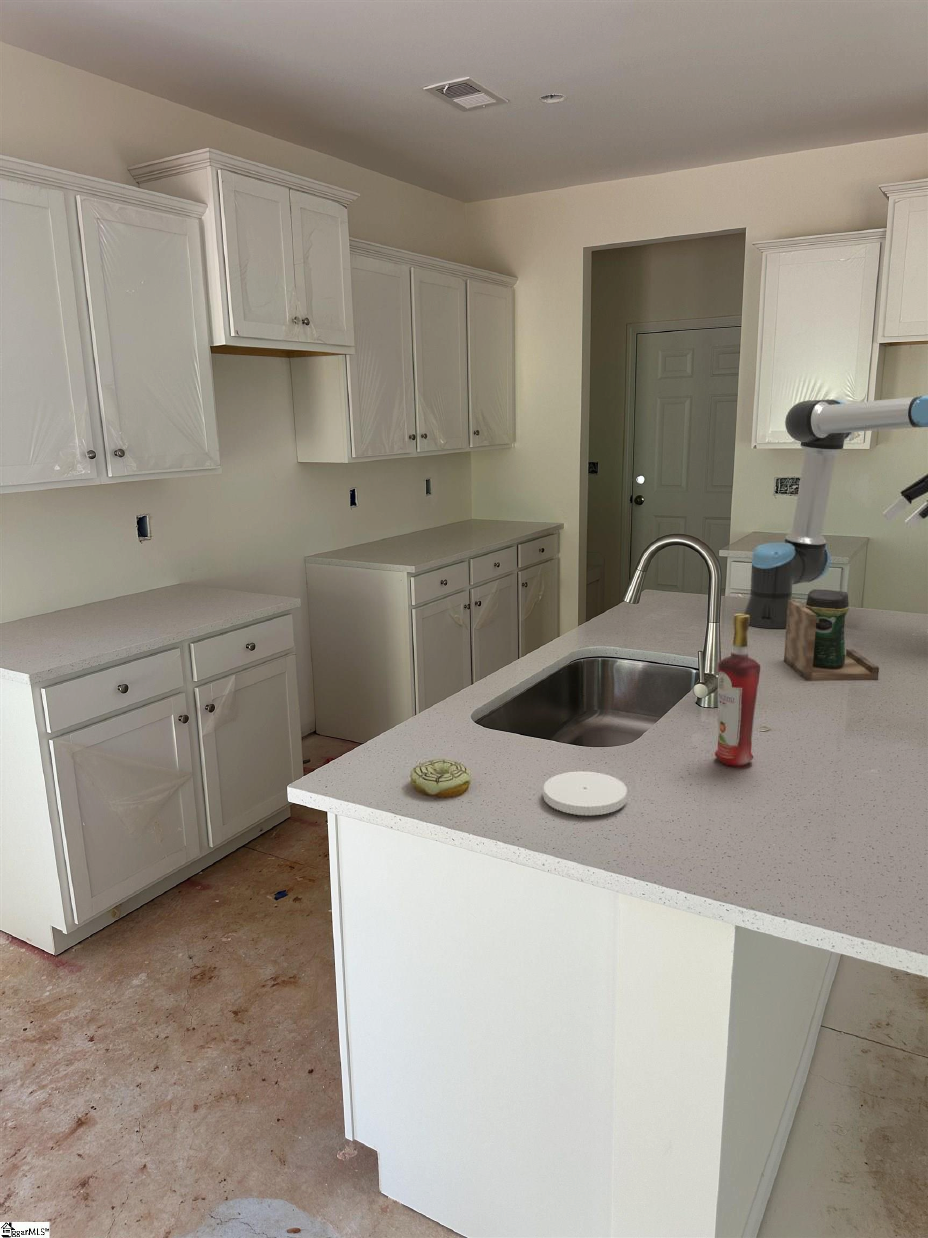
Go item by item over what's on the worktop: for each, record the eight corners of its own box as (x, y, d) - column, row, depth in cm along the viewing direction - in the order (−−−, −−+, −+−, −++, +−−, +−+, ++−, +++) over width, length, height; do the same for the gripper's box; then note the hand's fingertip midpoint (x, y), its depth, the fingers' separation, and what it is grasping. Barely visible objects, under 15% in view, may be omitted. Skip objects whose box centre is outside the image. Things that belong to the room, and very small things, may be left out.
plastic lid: (629, 788, 153) (629, 774, 153) (624, 824, 140) (624, 810, 140) (549, 781, 157) (549, 768, 156) (537, 817, 143) (537, 802, 143)
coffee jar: (846, 662, 216) (853, 589, 212) (840, 671, 210) (847, 595, 205) (805, 657, 221) (811, 585, 217) (798, 665, 215) (803, 591, 210)
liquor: (704, 758, 164) (711, 613, 158) (736, 751, 167) (744, 609, 160) (730, 772, 158) (739, 622, 151) (762, 765, 161) (772, 617, 154)
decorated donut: (432, 806, 148) (431, 786, 147) (400, 785, 156) (399, 765, 155) (482, 790, 153) (482, 770, 153) (448, 770, 162) (447, 751, 161)
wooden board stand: (783, 661, 224) (788, 599, 220) (851, 660, 223) (856, 599, 219) (805, 680, 208) (810, 614, 204) (877, 679, 208) (884, 614, 204)
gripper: (1002, 475, 204) (929, 539, 209) (951, 466, 228) (886, 524, 233) (982, 452, 203) (908, 518, 208) (932, 446, 227) (867, 504, 232)
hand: (896, 521), depth 220 cm, fingers open, 13 cm apart
